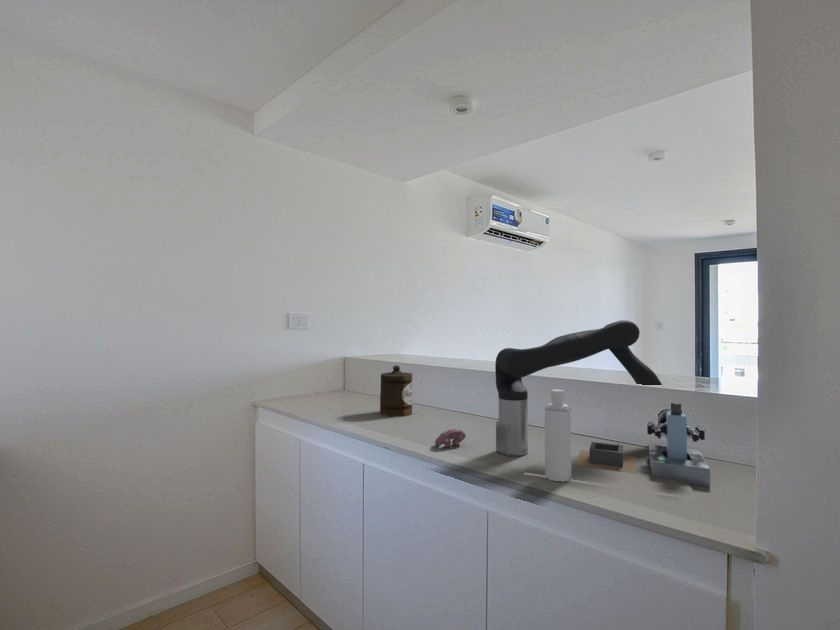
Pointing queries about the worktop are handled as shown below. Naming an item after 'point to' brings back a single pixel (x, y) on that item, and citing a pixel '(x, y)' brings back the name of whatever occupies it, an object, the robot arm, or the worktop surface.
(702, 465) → the port block
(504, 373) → the robot arm
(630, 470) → the holster
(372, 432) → the worktop surface
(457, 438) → the raw steak
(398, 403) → the wooden container
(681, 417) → the plug
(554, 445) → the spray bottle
